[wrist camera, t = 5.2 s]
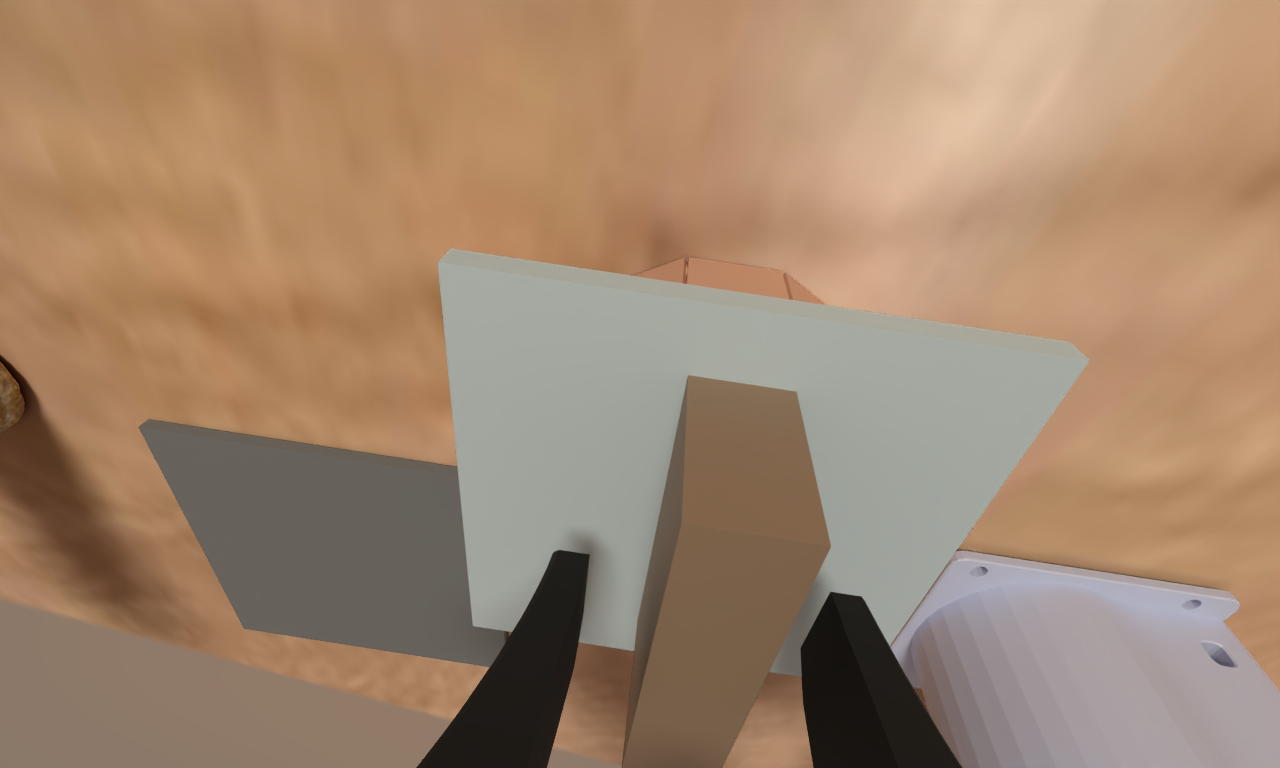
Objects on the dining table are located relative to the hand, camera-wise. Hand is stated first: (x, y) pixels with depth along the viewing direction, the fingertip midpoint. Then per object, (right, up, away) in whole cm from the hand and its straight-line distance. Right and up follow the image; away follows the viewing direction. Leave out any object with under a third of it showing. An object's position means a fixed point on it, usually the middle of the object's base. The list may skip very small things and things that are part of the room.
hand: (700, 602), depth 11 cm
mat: (-12, -3, +11) cm, 17 cm away
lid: (0, +1, +2) cm, 2 cm away
